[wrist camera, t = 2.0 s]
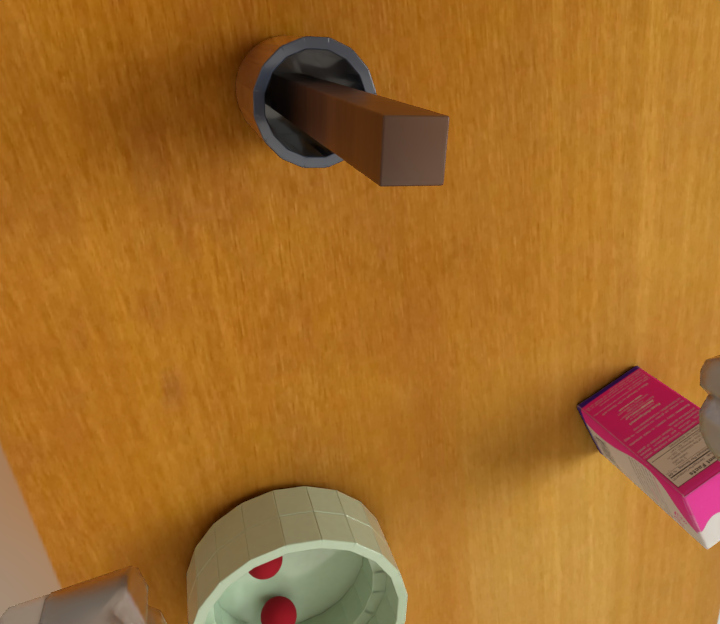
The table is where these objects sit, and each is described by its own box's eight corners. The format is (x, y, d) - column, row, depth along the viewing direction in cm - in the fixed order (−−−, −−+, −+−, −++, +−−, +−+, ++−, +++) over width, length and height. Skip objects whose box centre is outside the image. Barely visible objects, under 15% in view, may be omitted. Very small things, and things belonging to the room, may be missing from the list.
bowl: (193, 652, 48) (196, 728, 43) (180, 496, 43) (181, 562, 38) (376, 616, 52) (400, 682, 47) (386, 468, 47) (414, 524, 41)
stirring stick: (271, 108, 35) (379, 187, 17) (270, 72, 34) (383, 114, 16) (304, 109, 35) (443, 185, 17) (304, 73, 34) (450, 115, 17)
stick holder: (237, 141, 35) (254, 168, 28) (233, 33, 33) (251, 33, 26) (333, 141, 37) (373, 167, 30) (336, 38, 35) (379, 39, 27)
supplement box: (659, 411, 52) (779, 504, 42) (598, 453, 52) (703, 555, 42) (638, 361, 49) (760, 446, 39) (573, 404, 49) (679, 501, 39)
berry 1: (243, 563, 46) (247, 591, 43) (241, 534, 45) (246, 561, 42) (279, 557, 46) (285, 584, 44) (279, 528, 45) (285, 555, 43)
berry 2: (258, 617, 48) (263, 647, 46) (258, 591, 47) (262, 620, 45) (293, 611, 49) (299, 640, 46) (293, 585, 48) (299, 613, 45)
